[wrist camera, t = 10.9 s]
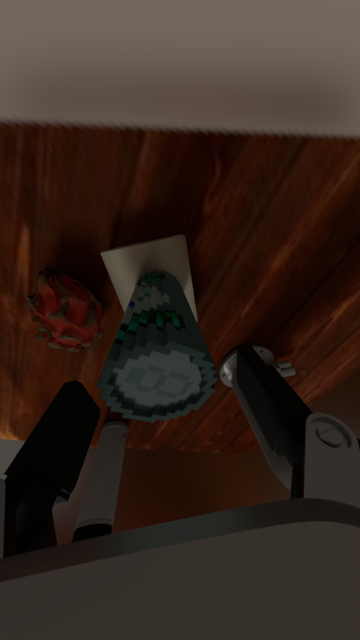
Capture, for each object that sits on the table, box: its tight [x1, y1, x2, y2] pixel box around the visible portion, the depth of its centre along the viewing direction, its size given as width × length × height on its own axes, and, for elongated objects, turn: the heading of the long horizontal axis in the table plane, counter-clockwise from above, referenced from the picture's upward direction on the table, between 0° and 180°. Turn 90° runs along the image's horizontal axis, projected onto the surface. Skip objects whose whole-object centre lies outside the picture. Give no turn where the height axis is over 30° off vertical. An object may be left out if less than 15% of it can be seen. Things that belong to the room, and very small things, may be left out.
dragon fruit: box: [27, 267, 105, 353], centre depth 22 cm, size 8×8×12 cm
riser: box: [101, 234, 198, 322], centre depth 23 cm, size 10×12×4 cm
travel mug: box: [71, 421, 128, 543], centre depth 34 cm, size 6×7×20 cm
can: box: [96, 269, 218, 423], centre depth 15 cm, size 6×6×15 cm
